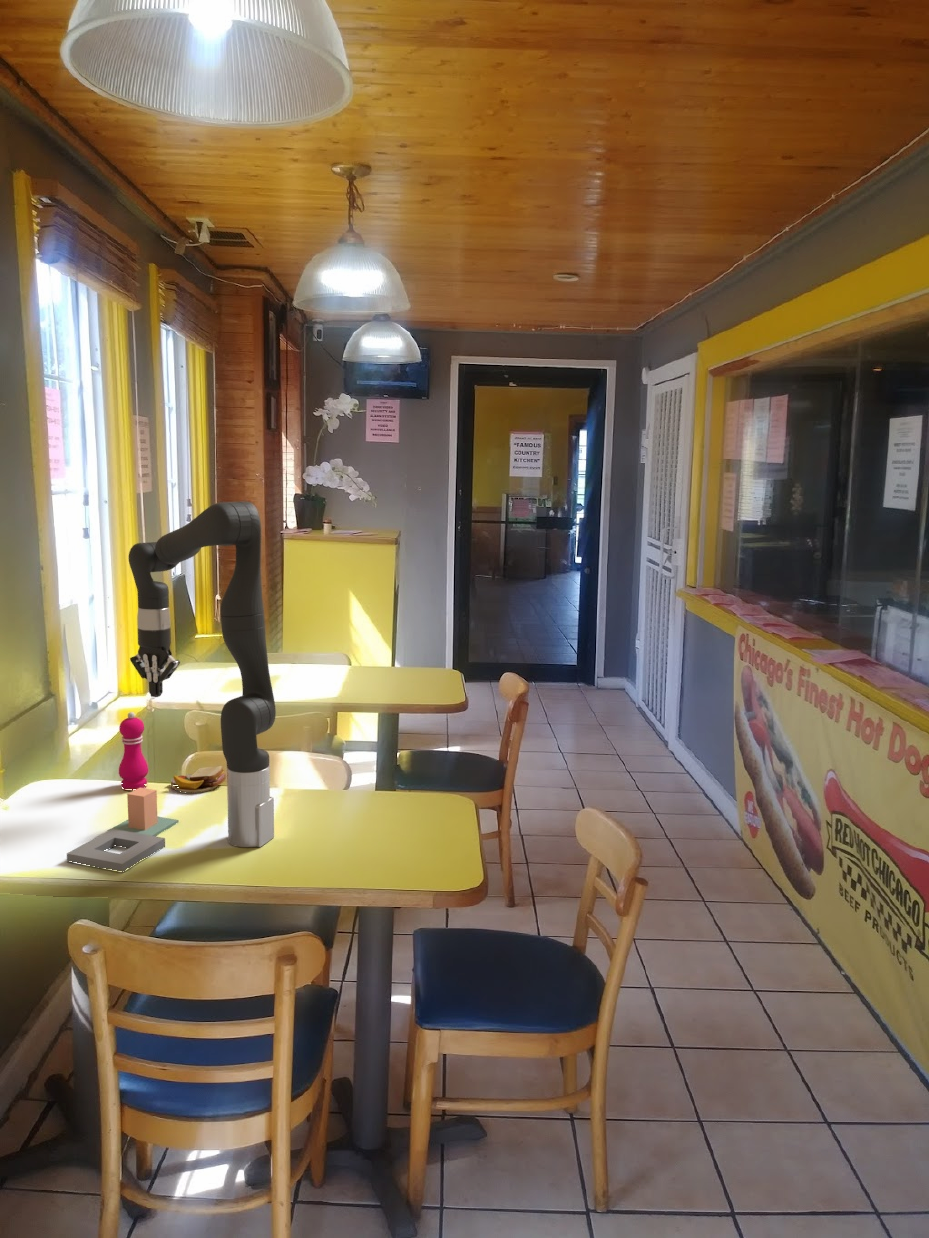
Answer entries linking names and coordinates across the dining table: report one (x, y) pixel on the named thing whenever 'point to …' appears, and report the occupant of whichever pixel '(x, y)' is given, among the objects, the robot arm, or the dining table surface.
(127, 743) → the pepper mill
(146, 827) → the terracotta block
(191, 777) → the toy sandwich meal
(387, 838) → the dining table surface
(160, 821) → the rubber pad
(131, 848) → the pocket plate
